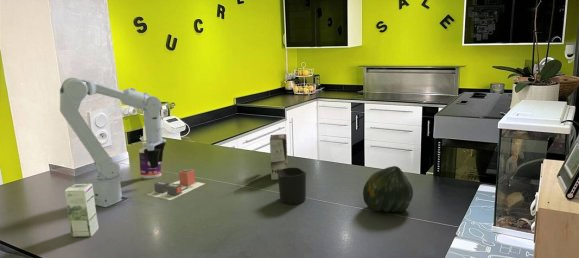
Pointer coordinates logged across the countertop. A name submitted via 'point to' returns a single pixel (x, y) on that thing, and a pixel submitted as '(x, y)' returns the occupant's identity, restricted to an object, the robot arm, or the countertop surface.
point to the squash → (388, 190)
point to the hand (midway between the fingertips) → (156, 164)
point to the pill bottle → (147, 165)
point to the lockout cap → (187, 177)
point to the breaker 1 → (161, 187)
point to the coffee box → (278, 154)
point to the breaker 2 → (174, 189)
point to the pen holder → (292, 185)
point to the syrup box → (81, 210)
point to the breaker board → (170, 197)
